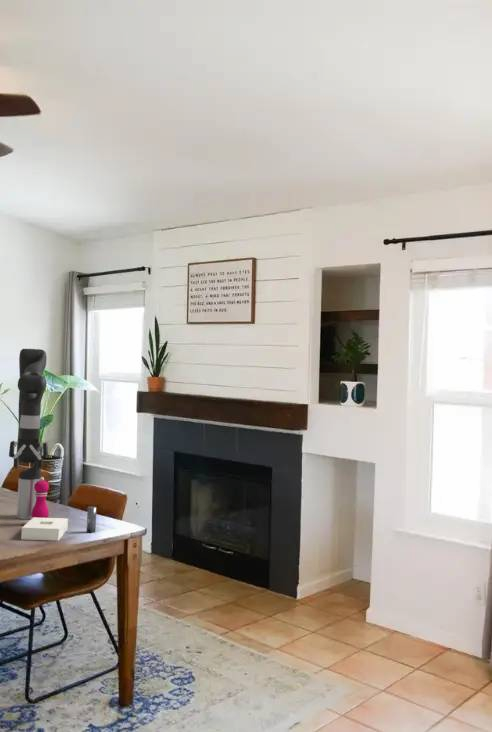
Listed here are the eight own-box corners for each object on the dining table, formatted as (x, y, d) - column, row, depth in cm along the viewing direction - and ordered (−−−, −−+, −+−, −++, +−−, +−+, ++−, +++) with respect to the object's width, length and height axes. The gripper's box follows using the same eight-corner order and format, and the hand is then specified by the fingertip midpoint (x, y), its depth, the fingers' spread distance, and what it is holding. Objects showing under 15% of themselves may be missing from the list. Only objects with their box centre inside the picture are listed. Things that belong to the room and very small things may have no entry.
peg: (87, 530, 295) (88, 506, 295) (95, 531, 295) (97, 506, 296) (85, 532, 292) (87, 508, 292) (94, 533, 292) (96, 508, 292)
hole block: (32, 528, 295) (33, 517, 295) (67, 529, 296) (68, 518, 296) (21, 539, 275) (21, 527, 275) (58, 540, 276) (58, 528, 276)
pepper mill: (30, 526, 298) (33, 478, 299) (30, 522, 305) (33, 475, 306) (48, 526, 300) (51, 478, 301) (48, 522, 307) (50, 475, 308)
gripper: (50, 427, 281) (48, 468, 281) (13, 425, 280) (11, 466, 280) (46, 428, 274) (44, 471, 273) (8, 426, 273) (6, 469, 273)
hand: (27, 468), depth 277 cm, fingers open, 8 cm apart
